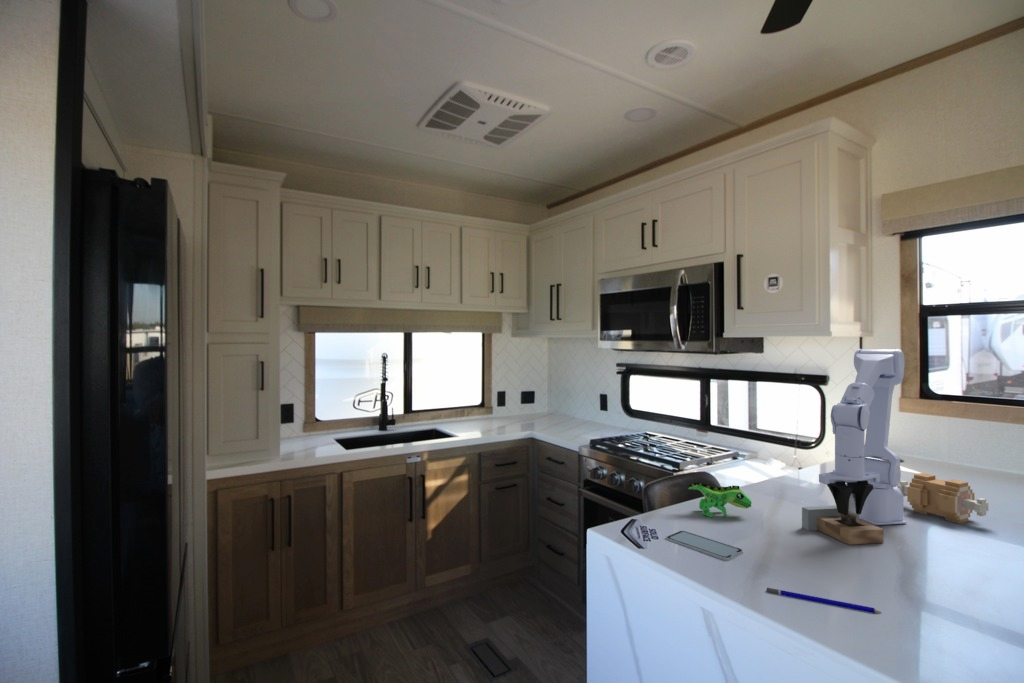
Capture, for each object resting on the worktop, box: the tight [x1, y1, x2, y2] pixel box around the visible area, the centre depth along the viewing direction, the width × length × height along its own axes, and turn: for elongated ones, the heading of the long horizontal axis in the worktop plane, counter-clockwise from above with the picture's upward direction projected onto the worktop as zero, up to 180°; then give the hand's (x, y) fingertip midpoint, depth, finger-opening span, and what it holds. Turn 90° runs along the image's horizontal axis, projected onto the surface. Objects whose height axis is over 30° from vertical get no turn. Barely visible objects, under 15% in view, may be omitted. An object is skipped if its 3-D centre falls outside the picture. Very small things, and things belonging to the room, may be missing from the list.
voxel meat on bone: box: [896, 472, 989, 524], centre depth 129 cm, size 10×18×10 cm, turn 24°
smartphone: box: [665, 530, 744, 562], centre depth 108 cm, size 7×1×15 cm
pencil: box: [766, 587, 882, 614], centre depth 84 cm, size 17×1×1 cm, turn 65°
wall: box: [801, 504, 859, 531], centre depth 119 cm, size 14×2×5 cm, turn 99°
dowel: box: [841, 492, 857, 524], centre depth 114 cm, size 3×3×7 cm
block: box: [816, 516, 885, 546], centre depth 114 cm, size 9×9×3 cm
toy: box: [687, 482, 752, 518], centre depth 128 cm, size 6×16×10 cm, turn 78°
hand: (849, 513), depth 114 cm, fingers closed on dowel, 3 cm apart
